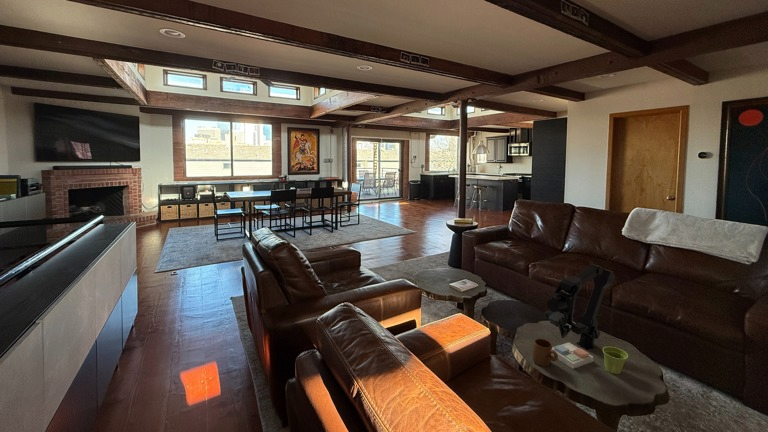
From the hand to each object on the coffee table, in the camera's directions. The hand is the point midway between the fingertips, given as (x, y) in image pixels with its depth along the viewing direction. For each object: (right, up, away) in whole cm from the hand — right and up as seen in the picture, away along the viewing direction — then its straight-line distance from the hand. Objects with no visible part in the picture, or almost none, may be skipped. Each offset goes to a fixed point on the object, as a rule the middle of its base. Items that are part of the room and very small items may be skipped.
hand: (563, 337), depth 168 cm
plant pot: (+18, -12, -8) cm, 23 cm away
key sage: (+2, -9, -3) cm, 10 cm away
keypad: (+4, -9, +1) cm, 10 cm away
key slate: (0, -7, +2) cm, 7 cm away
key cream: (+5, -8, +4) cm, 10 cm away
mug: (-10, -11, -4) cm, 16 cm away
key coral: (+7, -8, -1) cm, 11 cm away
